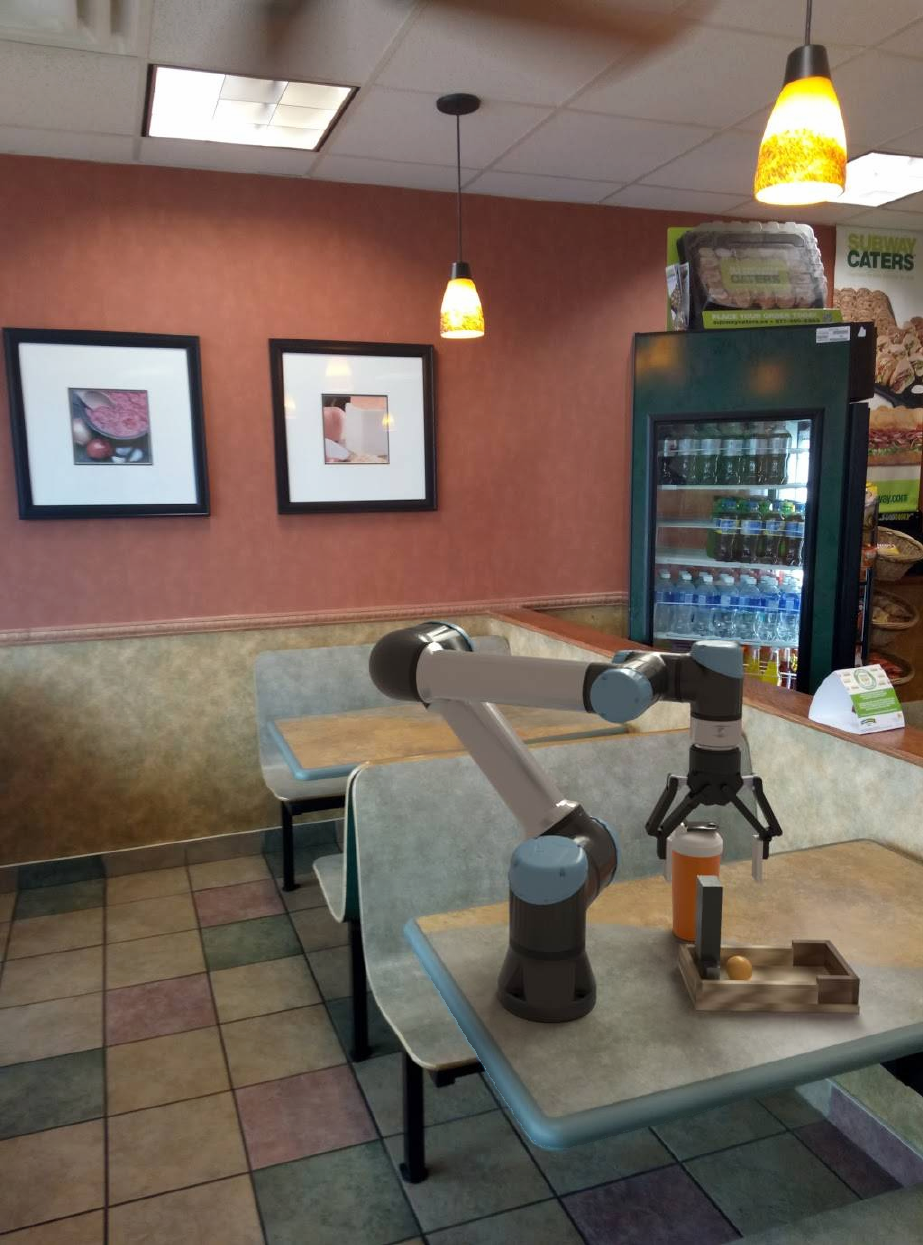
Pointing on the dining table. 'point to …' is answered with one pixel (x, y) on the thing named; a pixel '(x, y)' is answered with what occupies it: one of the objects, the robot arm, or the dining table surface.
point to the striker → (708, 927)
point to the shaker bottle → (692, 870)
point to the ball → (739, 968)
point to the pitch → (776, 979)
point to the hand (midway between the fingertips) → (711, 879)
